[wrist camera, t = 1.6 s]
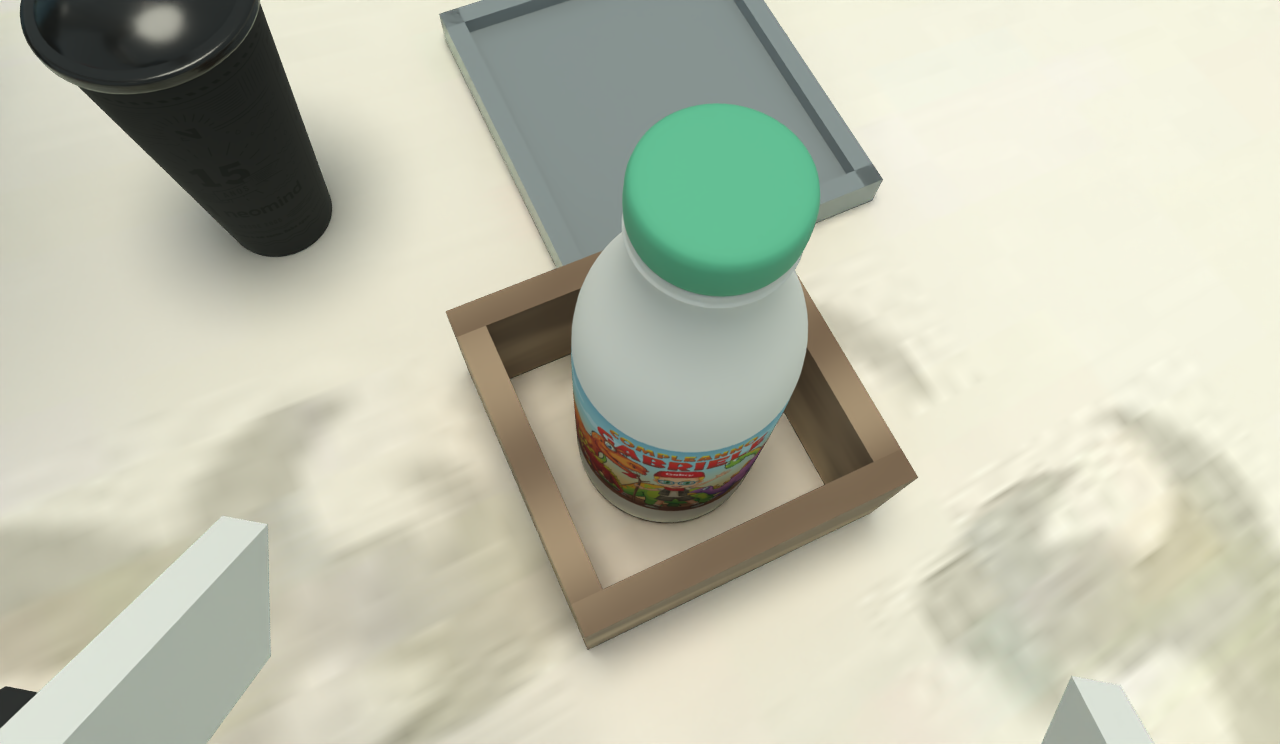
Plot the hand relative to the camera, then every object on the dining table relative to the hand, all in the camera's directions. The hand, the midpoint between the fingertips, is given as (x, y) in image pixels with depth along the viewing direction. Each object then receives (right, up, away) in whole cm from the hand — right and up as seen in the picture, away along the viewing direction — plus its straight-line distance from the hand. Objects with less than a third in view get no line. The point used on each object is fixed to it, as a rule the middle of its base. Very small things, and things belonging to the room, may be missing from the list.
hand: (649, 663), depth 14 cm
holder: (+1, +2, +24) cm, 24 cm away
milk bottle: (+1, +2, +24) cm, 24 cm away
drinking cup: (-18, +12, +28) cm, 35 cm away
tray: (0, +18, +30) cm, 35 cm away
